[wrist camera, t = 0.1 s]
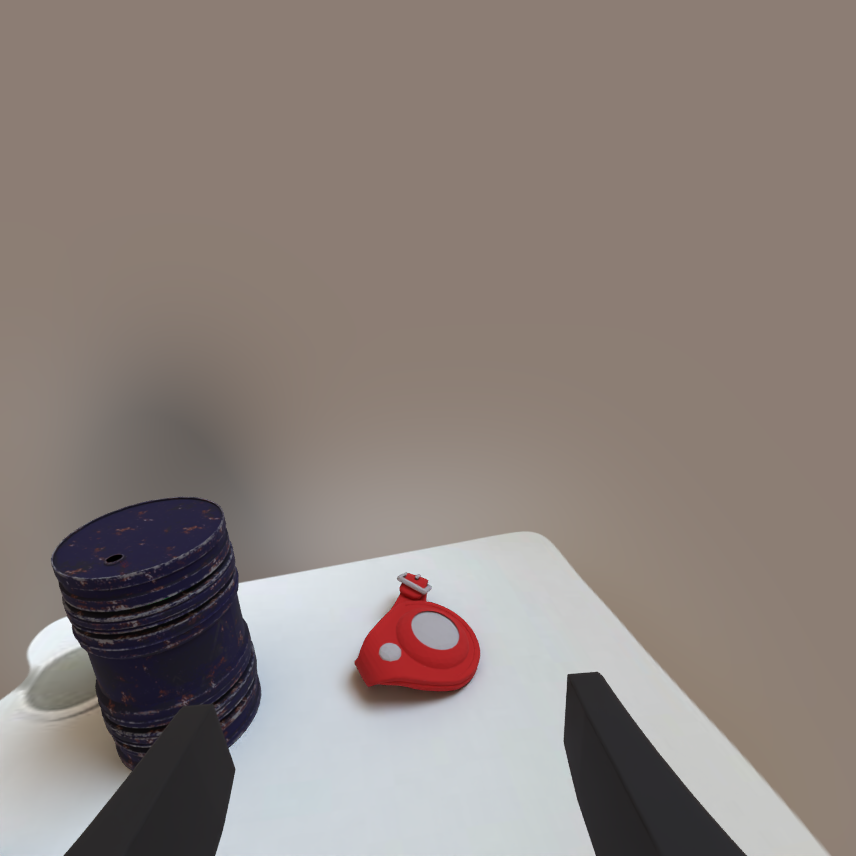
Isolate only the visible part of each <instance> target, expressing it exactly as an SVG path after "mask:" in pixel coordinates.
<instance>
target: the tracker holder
mask: <svg viewBox="0 0 856 856" xmlns="http://www.w3.org/2000/svg"><path fill="white" fill-rule="evenodd" d="M397 580H398V581H400V582H402V584H401V586H400V595H399V597H398V599H397V601H396V602H395V604H394V606H393V607H392V608H391V610H390V611H389V612H388V613H387V614H386V615H385V616H384V617H383V618H382V619H381V620H380V621H379V622H378V623H377V624H376V625H375V627H374V628H373V629H372V630H371V631H370V632H369V634H368V635H367V637H366V638H365V640H364V642H363V645H362V647H361V650H360V653H359V656H358V658H357V659H356V661H355V662H354V663H355V665H356V667H357V669H358V671H359V673H360V675H361V676H362V678H363V680H364V682H365V684H366V685H367V686H368V687H370V686H374V685H377V684H380V685H397V686H405V687H409V688H412V689H418V690H427V691H452V690H456V689H460V688H461V687H463V686H465V685H466V684H467V683H468V682H469V681H470V680H471V679H472V678H473V676H474V674H475V672H476V670H477V666H478V663H479V659H480V648H479V643H478V640H477V638H476V636H475V634H474V632H473V630H472V629H471V628H470V626H469V625H468V624H467V623H466V622H465V621H464V620H463V619H462V618H461V617H460V616H458V615H457V614H456V613H454V612H453V611H451V610H449V609H447V608H445V607H443V606H441V605H438V604H435V603H432V602H426V596H427V592H429V591H430V590H431V588H432V586H430V585H429V584H427V583H428V580H427V579H424V578H422V577H421V575H420V574H418V575H413V574H410V573H404V574H402V575H399V576H398V577H397Z"/></svg>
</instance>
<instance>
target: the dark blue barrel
mask: <svg viewBox="0 0 856 856" xmlns="http://www.w3.org/2000/svg"><path fill="white" fill-rule="evenodd" d="M51 564H52V567H53V570H54V573H55V575H56V577H57V579H58V581H59V587H60V590H61V593H62V600H63V605H64V608H65V611H66V613H67V617H68V619H69V620H70V622H71V623H72V630H73V634H74V636H75V638H76V639H77V640H78V642H79V643H80V645H81V647H82V648H83V649H85V650H86V651H87V652H88V655H89V658H90V661H91V664H92V667H93V670H94V672H95V675H96V678H97V679H96V686H95V687H96V694H97V697H98V702H99V705H100V707H101V711H102V716H103V719H104V722H105V724H106V727H107V729H108V731H109V733H110V734H111V735H112V737H113V739H114V741H115V743H116V749H117V752H118V754H119V757H120V758H121V760H122V762H123V763H124V764H125V765H126V766H127V767H128V768H129V769H131V770H132V771H133V770H134V768H135V767H136V766H137V764H138V763H139V762H140V761H141V759H142V758H143V757H144V755H145V754H146V753H147V751H148V750H149V749H150V748H151V746H152V745H153V744H154V742H155V741H156V740H157V738H158V737H159V736H160V735H161V733H162V732H163V731H164V729H165V728H166V727H167V725H168V724H169V723H170V721H171V720H172V719H173V718H174V716H175V715H176V714H177V712H178V711H179V710H180V709H181V708H182V707H183V706H190V705H202V704H214V707H215V710H216V713H217V716H218V719H219V722H220V725H221V728H222V731H223V734H224V737H225V740H226V743H227V746H228V748H229V747H230V746H231V745H232V744H233V743H234V742H235V741H236V740H237V739H238V738H239V737H240V736H241V735H242V734H243V733H244V732H245V731H246V729H247V728H248V726H249V725H250V723H251V722H252V720H253V718H254V717H255V715H256V713H257V710H258V707H259V704H260V699H261V686H260V682H259V678H258V675H257V660H256V655H255V650H254V646H253V643H252V641H251V637H250V633H249V629H248V626H247V623H246V622H245V620H244V619H243V618H242V614H241V609H240V604H239V600H238V595H237V591H238V571H237V568H236V566H235V557H234V552H233V547H232V544H231V542H230V540H229V536H228V532H227V529H226V522H225V517H224V513H223V510H222V508H221V507H220V506H219V505H218V504H216V503H215V502H213V501H210V500H208V499H203V498H196V497H171V498H163V499H157V500H151V501H146V502H142V503H138V504H134V505H131V506H127V507H124V508H121V509H119V510H116V511H113V512H110V513H108V514H105V515H103V516H101V517H99V518H96V519H94V520H92V521H90V522H88V523H87V524H85V525H83V526H81V527H80V528H78V529H77V530H75V531H74V532H72V533H71V534H70V535H68V536H67V537H66V538H65V539H63V540H62V542H61V543H60V544H59V545H58V546H57V547H56V549H55V550H54V552H53V554H52V558H51Z"/></svg>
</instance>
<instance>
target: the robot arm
mask: <svg viewBox="0 0 856 856" xmlns="http://www.w3.org/2000/svg"><path fill="white" fill-rule="evenodd" d="M564 746H565V750H566V754H567V758H568V763H569V767H570V771H571V776H572V780H573V784H574V788H575V792H576V796H577V800H578V803H579V806H580V809H581V812H582V815H583V818H584V821H585V824H586V827H587V830H588V833H589V836H590V839H591V842H592V845H593V848H594V851H595V854H596V856H747V855H746V854H745V853H744V852H743V851H742V850H741V849H740V848H739V847H738V846H737V844H736V843H735V842H734V841H733V840H732V839H731V838H730V837H729V836H728V834H727V833H726V832H725V831H724V830H723V829H722V828H721V827H720V825H719V824H718V823H717V822H716V821H715V820H714V819H713V817H712V816H711V815H710V814H709V813H708V812H707V811H706V810H705V808H704V807H703V806H702V805H701V804H700V802H699V801H698V800H697V799H696V798H695V797H694V795H693V794H692V793H691V792H690V791H689V790H688V788H687V787H686V786H685V785H684V783H683V782H682V781H681V780H680V778H679V777H678V776H677V775H676V774H675V772H674V771H673V770H672V769H671V767H670V766H669V765H668V764H667V762H666V761H665V760H664V759H663V758H662V756H661V755H660V754H659V753H658V751H657V750H656V749H655V747H654V746H653V745H652V744H651V742H650V741H649V740H648V738H647V737H646V736H645V734H644V733H643V732H642V730H641V729H640V728H639V726H638V725H637V724H636V723H635V721H634V720H633V719H632V717H631V716H630V714H629V713H628V712H627V710H626V709H625V708H624V706H623V705H622V703H621V702H620V701H619V699H618V698H617V696H616V695H615V693H614V692H613V691H612V689H611V688H610V686H609V685H608V683H607V682H606V680H605V679H604V677H603V676H602V675H601V674H600V673H598V672H590V673H577V674H568V676H567V693H566V710H565V727H564ZM234 774H235V767H234V764H233V761H232V758H231V755H230V752H229V749H228V746H227V743H226V740H225V737H224V734H223V731H222V728H221V725H220V722H219V719H218V716H217V713H216V710H215V707H214V704H202V705H190V706H183V707H182V708H181V709H180V710H179V711H178V712H177V714H176V715H175V716H174V718H173V719H172V720H171V721H170V723H169V724H168V725H167V727H166V728H165V729H164V731H163V732H162V733H161V735H160V736H159V737H158V738H157V740H156V741H155V742H154V744H153V745H152V746H151V748H150V749H149V750H148V751H147V753H146V754H145V755H144V757H143V758H142V759H141V761H140V762H139V763H138V764H137V766H136V767H135V768H134V770H133V771H132V772H131V773H130V775H129V776H128V777H127V779H126V780H125V781H124V782H123V784H122V785H121V786H120V787H119V789H118V790H117V791H116V792H115V794H114V795H113V796H112V797H111V799H110V800H109V801H108V802H107V804H106V805H105V806H104V807H103V809H102V810H101V811H100V812H99V814H98V815H97V816H96V817H95V819H94V820H93V821H92V822H91V824H90V825H89V826H88V827H87V828H86V830H85V831H84V832H83V833H82V835H81V836H80V837H79V838H78V839H77V841H76V842H75V843H74V844H73V845H72V846H71V848H70V849H69V850H68V851H67V852H66V853H65V855H64V856H215V854H216V851H217V848H218V844H219V841H220V838H221V834H222V831H223V827H224V823H225V818H226V813H227V809H228V804H229V799H230V794H231V789H232V784H233V779H234Z"/></svg>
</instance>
